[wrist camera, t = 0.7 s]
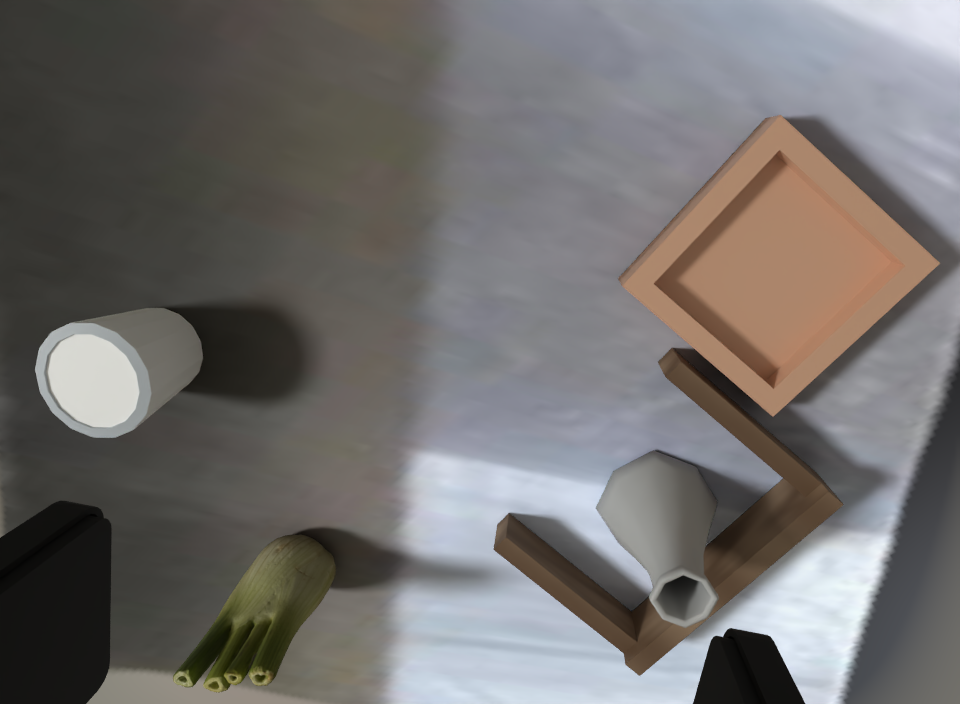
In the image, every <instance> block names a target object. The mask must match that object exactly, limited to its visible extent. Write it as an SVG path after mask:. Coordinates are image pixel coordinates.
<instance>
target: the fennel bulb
mask: <svg viewBox="0 0 960 704" xmlns="http://www.w3.org/2000/svg"><path fill="white" fill-rule="evenodd" d="M335 574H336V566H335V562H334V558H333V556H332V554H331V553H330V552H328V551H327V550H326V549H324V548H323V546H322V545H321V544H320V543H318V542H317V541H316V540H314V539H312V538H310V537H308V536H306V535H287V536H283V537H280V538H277V539H276V540H274V541H273V542H271V543H270V544H269V545H267V546H266V547H265V548H264V549H263V550H262V552H261V553H260V554H259V555H258V557H257V558H256V560H255V561H254V562H253V564H252V565H251V566H250V568H249V569H248V571H247V572H246V573H245V575H244V576H243V577H242V579H241V580H240V582H239V583H238V584H237V586H236V588H235V589H234V591H233V592H232V594H231V595H230V597H229V598H228V600H227V602H226V603H225V605H224V606H223V609H222V610H221V612H220V614H219V616H218V617H217V619H216V621H215V622H214V624H213V625H212V627H211V628H210V629H209V631H208V632H207V634H206V635H205V636H204V638H203V639H202V640H201V642H200V643H199V644H198V646H197V647H196V648H195V649H194V651H193V652H192V653H191V654H190V656H189V657H188V658H187V659H186V661H185V662H184V663H183V664H182V665H181V667H180V668H179V669H178V670H177V672H176V673H175V674H174V676H173V681H174V682H175V683H176V684H177V685H182V686H184V687H193V686H194V685H195V684H196V682H197V681H198V680H199V678H200V677H201V676H202V675H203V673H204V672H205V671H206V670H207V669H208V668H209V666H210V665H211V664H212V663H213V662H214V661H215V659H216V658H217V657H218V658H217V660H216V662H215V664H214V665H213V667H212V669H211V671H210V673H209V674H208V676H207V678H206V680H205V682H204V685H203V686H204V688H206V689H208V690H210V691H214V692H222V691H226V690H228V688H229V687H230V685H231V684H233V685H237V684H239V683H241V682H242V681H243V679H244V678H245V676H246V675H247V674H248V672H249V677H250V678H251V680H252V682H253V683H254V684H255V685H256V686H262V685H265V686H267V685H268V684H269V683H271V682H272V681H273V679H274V678H275V677H276V674H277V672H278V669H279V667H280V665H281V662H282V660H283V658H284V656H285V653H286V651H287V649H288V647H289V645H290V643H291V641H292V639H293V637H294V635H295V634H296V632H297V631H298V629H299V628H300V626H301V625H302V624H303V623H304V622H305V621H306V619H307V618H308V617H309V616H310V615H311V614H312V612H313V611H314V610H315V609H316V608H317V606H318V605H319V604H320V603H321V601H322V600H323V598H324V596H325V595H326V593H327V592H328V590H329V588H330V586H331V584H332V581H333V580H334V577H335ZM218 655H219V656H218ZM249 670H250V671H249Z"/></svg>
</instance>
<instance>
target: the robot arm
mask: <svg viewBox="0 0 960 704" xmlns="http://www.w3.org/2000/svg"><path fill="white" fill-rule="evenodd" d="M110 603H111V523H110V521H109V520H108V519H105V518H104V517H103V513H102V511H101V509H99V508H98V507H94V506H89V505H84V504H78V503H73V502H68V501H58V502H56V503H53V504H52V505H50V506H49V507H47V508H46V509H44V510H43V511H41V512H39V513H38V514H36V515H35V516H33V517H32V518H30V519H29V520H27V521H26V522H24V523H22V524H21V525H19V526H18V527H16V528H15V529H13V530H12V531H10V532H8V533H7V534H5V535H4V536H2V537H1V538H0V704H86V703H87V702H88V701H89V700H90V699H91V698H92V696H93V695H94V694H95V693H96V692H97V691H98V689H99V688H100V687H101V685H102V683H103V682H104V680H105V678H106V675H107V673H108V669H109V664H110ZM693 704H805V702H804V700H803V698H802V696H801V694H800V692H799V690H798V688H797V686H796V685H795V683H794V681H793V679H792V677H791V675H790V673H789V671H788V669H787V667H786V665H785V663H784V661H783V659H782V657H781V655H780V653H779V651H778V649H777V647H776V645H775V643H774V641H773V640H772V638H771V637H770V636H768V635H764V634H758V633H753V632H748V631H743V630H737V629H732V628H730V629H728V630H727V631H726V632H725V634H724V636H723V637H720V636H714V637H713V639H712V640H711V643H710V646H709V649H708V653H707V656H706V660H705V663H704V667H703V670H702V674H701V678H700V681H699V685H698V688H697V692H696V695H695V699H694V702H693Z"/></svg>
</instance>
